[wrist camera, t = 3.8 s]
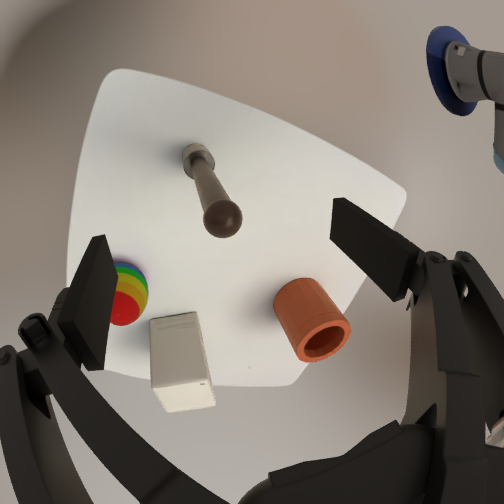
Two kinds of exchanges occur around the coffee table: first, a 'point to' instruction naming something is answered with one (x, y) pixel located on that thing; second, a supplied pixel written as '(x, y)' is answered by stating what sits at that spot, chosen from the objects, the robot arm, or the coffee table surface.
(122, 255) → the coffee table surface
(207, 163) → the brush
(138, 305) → the decorative egg
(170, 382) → the rectangular carton
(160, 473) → the robot arm
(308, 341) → the jar
